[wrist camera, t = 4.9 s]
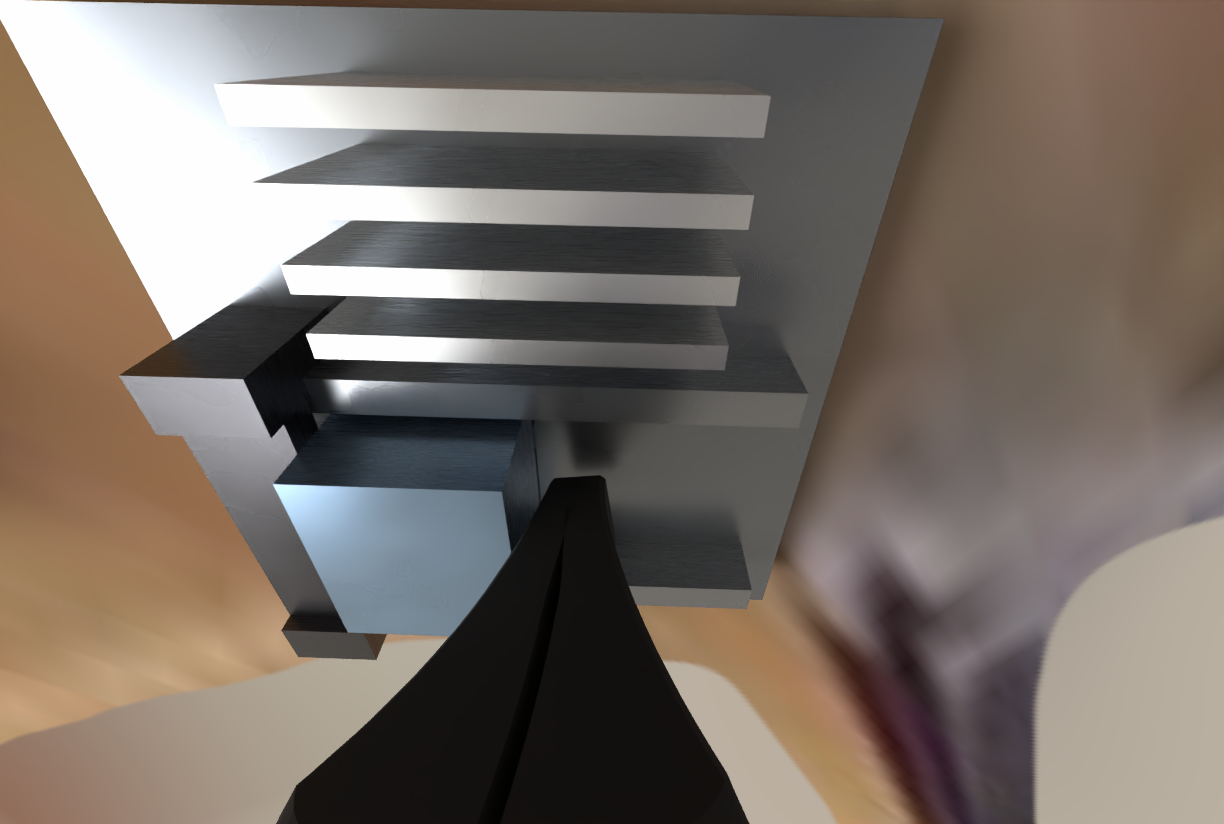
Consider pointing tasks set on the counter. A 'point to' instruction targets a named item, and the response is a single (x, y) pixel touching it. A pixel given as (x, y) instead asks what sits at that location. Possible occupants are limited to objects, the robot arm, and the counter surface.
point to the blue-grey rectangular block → (410, 514)
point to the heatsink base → (494, 245)
